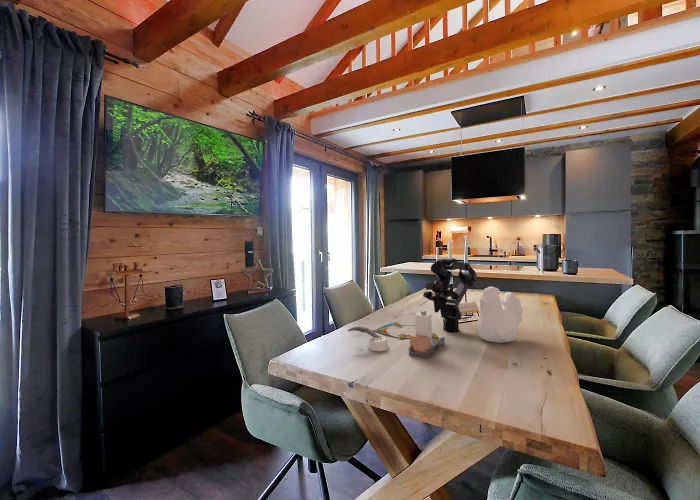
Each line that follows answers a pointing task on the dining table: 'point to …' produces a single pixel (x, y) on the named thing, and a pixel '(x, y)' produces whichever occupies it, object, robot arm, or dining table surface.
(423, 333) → the block
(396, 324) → the ribbon cable
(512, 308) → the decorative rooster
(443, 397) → the dining table surface
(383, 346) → the inkwell
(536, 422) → the dining table surface
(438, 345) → the rail
